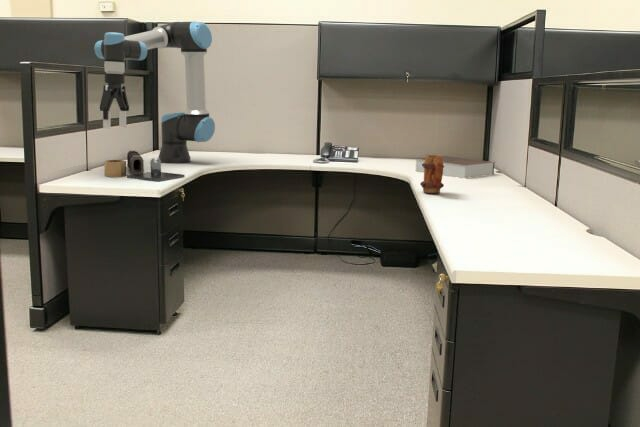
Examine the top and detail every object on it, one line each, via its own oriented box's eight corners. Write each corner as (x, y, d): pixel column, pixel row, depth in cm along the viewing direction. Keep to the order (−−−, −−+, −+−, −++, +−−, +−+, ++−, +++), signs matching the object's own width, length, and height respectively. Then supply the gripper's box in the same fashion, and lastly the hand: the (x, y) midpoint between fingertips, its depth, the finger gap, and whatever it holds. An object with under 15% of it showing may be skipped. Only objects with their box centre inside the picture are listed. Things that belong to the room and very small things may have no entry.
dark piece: (154, 173, 273) (153, 155, 272) (184, 177, 266) (184, 158, 265) (126, 177, 259) (126, 158, 258) (158, 181, 252) (157, 162, 251)
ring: (115, 173, 269) (115, 159, 267) (130, 175, 265) (129, 161, 264) (100, 175, 262) (100, 161, 260) (115, 177, 258) (115, 162, 257)
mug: (417, 190, 252) (420, 152, 249) (438, 191, 253) (441, 152, 250) (427, 197, 238) (429, 156, 235) (448, 197, 239) (451, 157, 236)
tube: (142, 172, 295) (149, 173, 267) (127, 176, 293) (132, 178, 265) (135, 149, 293) (141, 147, 265) (120, 152, 291) (125, 151, 263)
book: (444, 169, 327) (445, 155, 325) (493, 175, 307) (494, 162, 306) (414, 172, 310) (415, 158, 308) (464, 179, 290) (465, 165, 289)
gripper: (120, 74, 269) (120, 126, 272) (89, 71, 244) (90, 128, 248) (137, 74, 267) (137, 126, 271) (108, 72, 243) (108, 129, 247)
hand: (115, 127), depth 260 cm, fingers open, 13 cm apart
